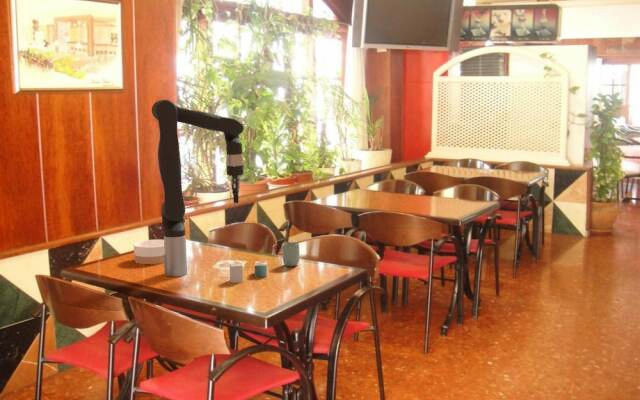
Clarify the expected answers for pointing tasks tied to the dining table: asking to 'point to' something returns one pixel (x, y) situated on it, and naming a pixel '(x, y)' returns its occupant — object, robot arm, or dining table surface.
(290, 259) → the cup
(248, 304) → the dining table surface
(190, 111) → the robot arm
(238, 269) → the grey block
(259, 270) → the blue canister
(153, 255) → the bowl
